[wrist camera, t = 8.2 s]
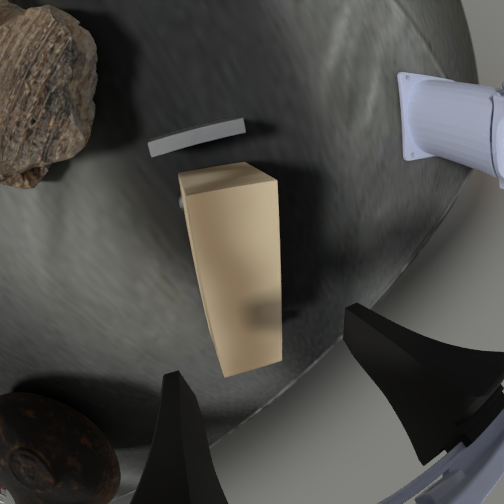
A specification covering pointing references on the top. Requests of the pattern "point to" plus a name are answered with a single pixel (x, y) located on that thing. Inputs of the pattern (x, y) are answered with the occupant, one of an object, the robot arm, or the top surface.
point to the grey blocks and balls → (195, 137)
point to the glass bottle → (53, 453)
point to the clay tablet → (43, 91)
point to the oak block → (237, 261)
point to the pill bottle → (2, 493)
